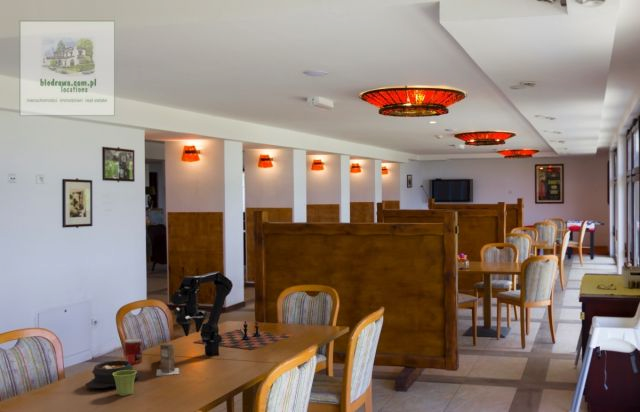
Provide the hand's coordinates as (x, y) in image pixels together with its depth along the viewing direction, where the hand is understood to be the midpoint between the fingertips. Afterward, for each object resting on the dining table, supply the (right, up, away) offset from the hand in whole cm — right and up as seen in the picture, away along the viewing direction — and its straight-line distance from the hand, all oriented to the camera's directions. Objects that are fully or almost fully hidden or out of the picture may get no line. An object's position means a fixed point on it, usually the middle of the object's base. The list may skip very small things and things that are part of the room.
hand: (192, 334), depth 330 cm
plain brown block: (-7, -13, -20) cm, 25 cm away
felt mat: (-7, -14, -20) cm, 25 cm away
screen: (-13, -13, -4) cm, 19 cm away
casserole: (-27, -15, -37) cm, 48 cm away
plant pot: (-18, -15, -52) cm, 57 cm away
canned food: (-28, -14, 0) cm, 32 cm away
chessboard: (+21, -12, +47) cm, 53 cm away
